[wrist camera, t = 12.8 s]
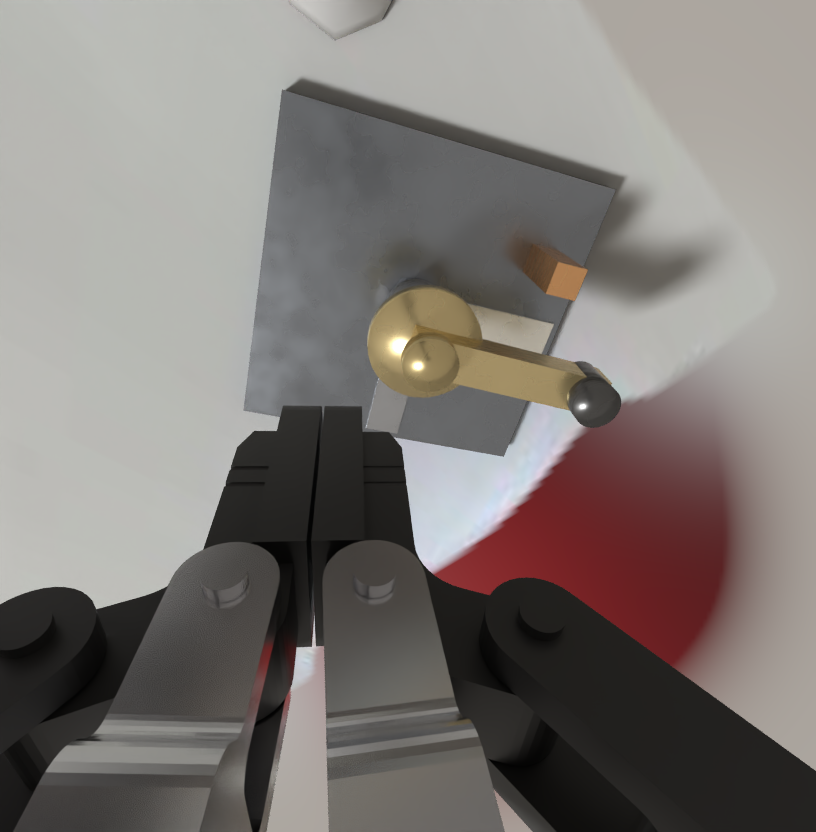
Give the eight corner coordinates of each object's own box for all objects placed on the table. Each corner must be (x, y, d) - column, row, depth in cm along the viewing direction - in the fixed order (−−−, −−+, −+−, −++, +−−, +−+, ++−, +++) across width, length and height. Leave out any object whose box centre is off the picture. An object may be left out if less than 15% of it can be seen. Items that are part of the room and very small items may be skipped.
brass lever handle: (355, 377, 33) (355, 408, 29) (383, 271, 30) (387, 291, 26) (569, 425, 36) (592, 459, 33) (616, 334, 33) (647, 360, 29)
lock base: (284, 90, 31) (266, 84, 25) (608, 187, 35) (659, 202, 29) (246, 403, 41) (227, 452, 35) (500, 448, 46) (521, 499, 40)
